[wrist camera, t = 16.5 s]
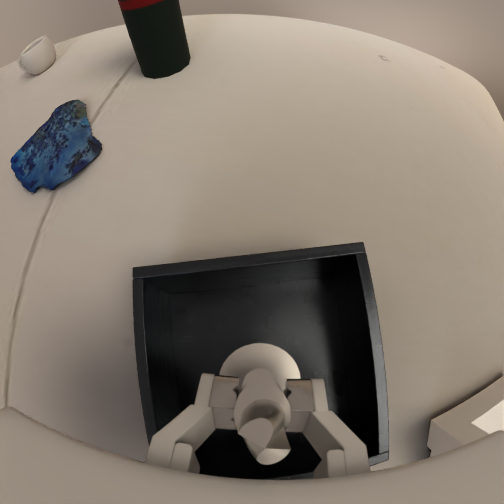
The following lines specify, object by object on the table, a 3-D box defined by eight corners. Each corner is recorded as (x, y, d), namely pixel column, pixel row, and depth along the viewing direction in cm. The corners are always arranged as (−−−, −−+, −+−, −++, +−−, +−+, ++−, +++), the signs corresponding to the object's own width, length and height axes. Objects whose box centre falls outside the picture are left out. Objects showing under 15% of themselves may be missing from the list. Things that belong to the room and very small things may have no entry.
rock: (81, 97, 33) (76, 89, 31) (112, 154, 29) (105, 145, 27) (14, 155, 31) (8, 149, 29) (27, 229, 27) (18, 223, 25)
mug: (66, 52, 41) (54, 29, 34) (48, 73, 38) (34, 49, 31) (34, 65, 42) (22, 45, 34) (17, 86, 39) (3, 66, 31)
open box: (357, 434, 20) (389, 460, 13) (181, 455, 19) (158, 487, 13) (337, 267, 24) (363, 241, 18) (162, 287, 24) (132, 267, 18)
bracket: (422, 468, 18) (456, 504, 11) (430, 419, 19) (476, 454, 11) (499, 418, 19) (536, 438, 11) (509, 371, 19) (552, 385, 12)
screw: (237, 332, 18) (306, 356, 18) (212, 397, 17) (280, 421, 16) (198, 310, 6) (400, 376, 5) (134, 482, 5) (319, 537, 4)
